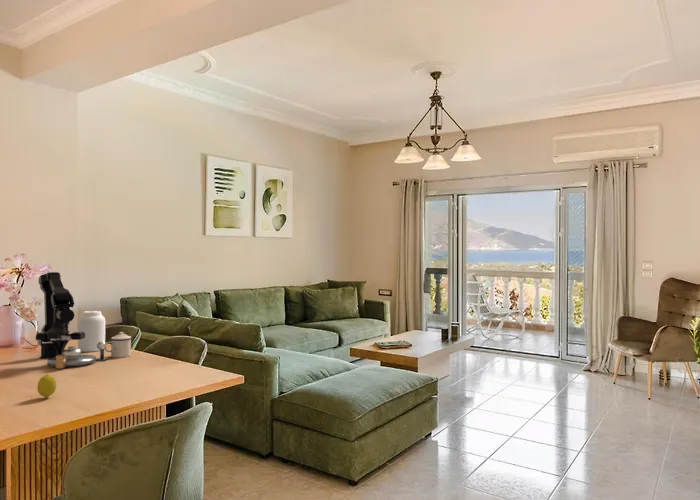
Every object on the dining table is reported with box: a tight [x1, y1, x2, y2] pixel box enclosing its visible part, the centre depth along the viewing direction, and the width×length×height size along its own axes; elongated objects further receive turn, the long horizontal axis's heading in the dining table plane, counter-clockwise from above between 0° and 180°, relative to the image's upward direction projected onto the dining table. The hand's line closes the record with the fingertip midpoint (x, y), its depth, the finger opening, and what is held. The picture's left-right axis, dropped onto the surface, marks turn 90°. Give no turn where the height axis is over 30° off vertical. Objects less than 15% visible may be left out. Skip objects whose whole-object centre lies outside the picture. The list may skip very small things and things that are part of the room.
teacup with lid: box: [104, 331, 132, 359], centre depth 247 cm, size 12×9×12 cm
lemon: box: [36, 373, 57, 399], centre depth 173 cm, size 6×6×8 cm
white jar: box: [77, 310, 106, 353], centre depth 263 cm, size 12×12×20 cm
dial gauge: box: [95, 342, 109, 362], centre depth 237 cm, size 4×4×9 cm
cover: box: [62, 345, 82, 360], centre depth 228 cm, size 7×7×5 cm
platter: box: [46, 353, 97, 369], centre depth 227 cm, size 19×22×5 cm
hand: (60, 355), depth 227 cm, fingers closed
